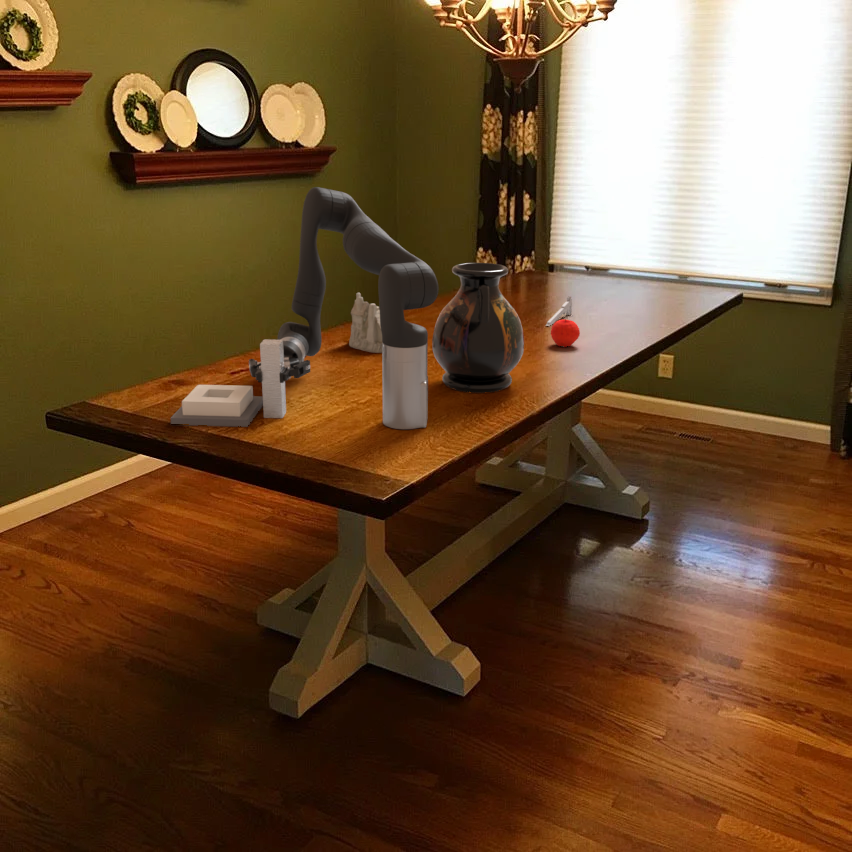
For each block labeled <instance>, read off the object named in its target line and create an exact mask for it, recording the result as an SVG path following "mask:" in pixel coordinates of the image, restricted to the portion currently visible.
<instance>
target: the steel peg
mask: <svg viewBox="0 0 852 852" xmlns="http://www.w3.org/2000/svg"><path fill="white" fill-rule="evenodd" d="M259 350H260V351H259V352H260V362H261V372H262V382H261V387H262V389H261V392H262V396H263V406H262V408H263V418H264V419H283V418H284V417H285V415H286V413H287V401H286V399H287V398H286V381H284V383H280V372H281V371H282V369H283V368H284V350H283V340H278V339H269V338H268V339H263V340H262V341H261V342H260V343H259Z"/></svg>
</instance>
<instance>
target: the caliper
mask: <svg viewBox="0 0 852 852" xmlns="http://www.w3.org/2000/svg"><path fill="white" fill-rule="evenodd" d="M572 313H573V298H572V296H571V295H568V296H567V297H566V301H565V302H564V303H563V304H562V305H561V307H560V308H559V309H558V311H556V312H555V313H554V315H553V316H552V317H550V319H548V321H547V322H546V324H545V326H549V327H551V326H553V325H552V324H554V323H555V322H556V321H558V320H559V319H560V317H562V316H563V315H566V316H568V315H572ZM550 325H551V326H550Z"/></svg>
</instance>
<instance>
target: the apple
mask: <svg viewBox="0 0 852 852" xmlns="http://www.w3.org/2000/svg"><path fill="white" fill-rule="evenodd" d="M550 328H551V329H550V335H551V340H553V342H554V344H555V345H556V346H558V347H560V346H564V347H563V348H568V347H571V346H572V345H573V344H574V343H575V342H576V341H577V340H578V339H579V337H580V333H581V332H580V328H579V326H578V324H577V323H576V322H575V321H573V320H570V319H557V320H556V321H555V323H554V324H553V325H551V327H550ZM567 346H568V347H567Z"/></svg>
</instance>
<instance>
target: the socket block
mask: <svg viewBox="0 0 852 852" xmlns="http://www.w3.org/2000/svg"><path fill="white" fill-rule="evenodd" d="M253 389H254V388H253V385H234V384H233V385H227V384H197V385H196V386H195V387H194V388H193V389H192V390H191V391H190V392H189V393H188V394H187V395H186V396H185V398H184V399H182V400H181V406H180V407H179V409H178V410H177V411H176V412H175V413H173V415H172V416H171V417H170V425H171V424H189V425H188V426H198V425H207V426H206V427H236V428H237V427H238V426H239V427H240V426H241V427H243V428H245V427H246V428H247V427H249V426H250V424H251V423H252V421H253V420H254V419H253V418H256V416H257V414H258V413H259V412H258V411H260V410H261V409H262V408H263V395H262V396H260V395H259V396H255V395H254V390H253ZM250 422H251V423H250ZM248 425H249V426H248Z"/></svg>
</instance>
